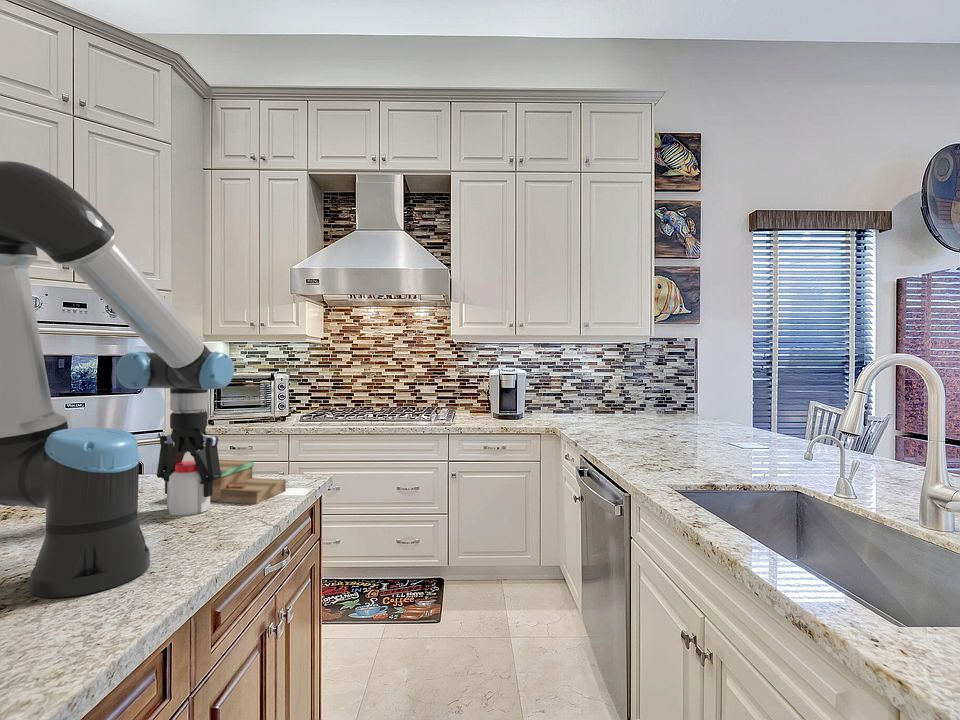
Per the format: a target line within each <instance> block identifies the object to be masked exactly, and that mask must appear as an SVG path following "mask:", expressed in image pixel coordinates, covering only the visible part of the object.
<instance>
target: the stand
mask: <svg viewBox="0 0 960 720" xmlns="http://www.w3.org/2000/svg"><path fill="white" fill-rule="evenodd" d="M219 464H220V472H221V478H219V479H216V480H214V481H213V494H212V496H210V502H223V503H225V502H226V503H239V504H254V505H256V504H257V505H258V504H259V503H262V502H264V501H267V500H269V499H271V498H273V497H275V496H278V495H280V494H282V493H284V492H286V487H287V486H286V483H287V482H286V479H280V478H279V479H275V478H259V477H253V468H254V467H255V466H254V465H255V464H254V461H252V460H251V461H250V460H235V459H234V460H233V459H232V460H231V459H219Z"/></svg>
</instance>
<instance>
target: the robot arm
mask: <svg viewBox="0 0 960 720" xmlns="http://www.w3.org/2000/svg"><path fill="white" fill-rule="evenodd" d="M116 233H117V232H116V230H115V229H114V228H113V226H112V225H111V224H110V223H109V221H107V219H105V218H104V216H103V215H102V214H101V213H100V212H99V210H98V209H96V208H95V207H94V206H93V204H91V203H90V202H89V201H88V200H87V199H86V198H84V196H82V195H81V194H80V193H79V192H78V191H76V190H75V189H74V188H72V187H71V186H70V185H69V184H67V183H66V182H65V181H63V180H61V179H60V178H58V177H56V176H55V175H54V174H52V173H50V172H48V171H46V170H43V169H41V168H39V167H38V166H34V165H30V164H28V163H24V162H19V161H12V160H11V161H9V160H3V161H2V160H0V505H1V506H3V507H4V506H5V507H17V506H19V507H26V508H27V507H29V508H37V509H39V508H40V509H45V536H44V540H43V543H42V545H41V547H40V550H39V552H38V555H37V558H36V562H35V565H34V567H33V568H32V570H31V572H30V575H29V592H30V593H31V594H32V595H34V596H36V597H40V598H57V599H58V598H68V597H69V598H70V597H76V596H81V595H88V594H93V593H97V592H101V591H104V590H108V589H111V588H114V587H118V586H121V585H122V584H126V583H128V582H130V581H132V580H134V579H137V578H138V577H139V576H141V575H143V574H144V573H145V572H146V571H147V570H148V569H149V568H150V566H151V564H150V563H151V552H150V548H149V547H148V546H147V543H146V540H145V537H144V534H143V532H142V530H141V529H142V528H141V526H140V524H139V518H138V514H139V513H138V508H139V505H138V504H139V475H140V474H139V471H140V456H141V455H140V454H139V447H138V440H137V438H136V436H135V435H134V434H133V433H131V432H129V431H126V430H123V429H118V428H110V427H92V426H91V427H90V426H88V427H87V426H86V427H70V428H69V424H68V420H67V417H66V416H64V415H62V414H60V413H59V412H57V411H55V410H54V407H53V401H52V397H51V391H50V390H51V389H50V385H49V380H48V375H47V370H46V369H47V368H46V363H45V357H44V352H43V346H42V341H41V335H40V331H39V330H40V329H39V325H38V318H37V313H36V307H35V303H34V297H33V292H32V287H31V286H32V285H31V280H30V276H29V267H31V266H32V265H33V264H34V262H36V261H37V260H38V259H39V256H38V250H37V248H38V249H39V250H42V251H43V252H44V254H46V255H47V256H48V257H49V258H50V259H52V261H53V262H55V264H58V265H63V266H65V265H66V266H69V268H70V269H71V270H72V271H73V272H75V274H76V275H77V276H78V277H79V278H80V279H81V280H82V281H83V282H85V284H86V285H87V286H88V287H89V288H90V289H91V290H92V291H93V292H94V293H95V294H96V295H97V296H98V297H100V299H101V300H102V301H103V302H105V304H106V305H107V306H109V308H110V309H111V310H112V311H113V312H114V313H115V314H116V315H118V317H119V318H120V319H121V320H123V322H125V324H126V325H127V326H128V327H129V329H131V330H132V331H133V332H135V334H136V335H137V336H138V337H139V338H140V339H141V340H142V341H143V342H144V343H145V344H146V345H147V346H148V347H149V348H150V349H151V350H152V351H153V352H150V351H149V352H148V351H147V352H146V351H145V352H144V351H138V352H127V353H125V354H123V355H122V356H121V357H120V358H119V360H118V362H117V363H116V368H115V369H116V377H117V378H116V379H117V381H118V382H119V383H120V384H121V386H123V387H124V388H127V389H138V390H144V389H169V393H170V394H169V395H170V396H169V397H170V398H169V399H170V400H169V410H170V411H172V412H171V413H170V414H169V429H171V433H170V434H169V433H168V434H165V435H161V436H159V441H160V449H159V450H160V451H159V456H158V463H157V472H156V477H157V478H159V479H163V481H164V489H165V490H164V494H165V495H166V510H167V511H169V476H170V475H171V474H172V473H173V472H174V471H175V464H176V463H180V462H183V460H184V457H185V454H186V453H189V454H190V457H193V461H195V463H196V466H197V469H198V472H199V474H200V477H201V480H202V482H200V483H199V512H200V513H203V512H206V511H209V510H211V501H210V496H212V494H213V481H214V480H216V479H219V478H221V472H220V464H219V460H220V459H219V453H218V444H219V443H218V442H219V437H218V436H216V435H215V436H211V435H208V433H207V431H206V428H207V426H208V424H209V422H208V419H209V418H208V416H209V415H208V412H207V411H205V410H207V409H208V402H209V401H208V396H209V395H208V393H209V392H208V391H209V390H217V389H218V390H219V389H223V388H225V387H227V386H228V385H229V384H230V383H231V382H232V380H233V378H234V375H235V366H234V362H233V360H232V358H231V356H230V355H228V354H226V353H223V352H219V351H211V350H210V349H209V348H208V347H207V346H206V344H205V343H204V342H203V341H202V340H201V339H200V338H199V336H198V335H197V334H196V333H195V332H194V330H193V329H192V328H191V327H190V326H189V325H188V324H187V322H186V321H185V320H184V319H183V318H182V316H180V314H178V312H177V311H176V310H175V308H174V307H173V306H172V305H171V304H170V303H169V302H168V300H167V299H166V298H165V297H164V296H163V295H162V293H161V292H160V291H159V290H158V289H157V288H156V287H155V286H154V284H153V283H152V282H151V280H149V279H148V277H147V276H146V275H145V274H144V273H143V271H142V270H141V269H140V268H139V267H138V266H137V264H136V263H135V262H134V261H133V260H132V259H131V258H130V256H129V255H128V254H127V253H126V251H124V249H122V247H121V246H120V245H119V244H118V243H117V241H116V240H115V239H116V236H117V235H116Z"/></svg>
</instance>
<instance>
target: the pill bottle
mask: <svg viewBox="0 0 960 720" xmlns="http://www.w3.org/2000/svg"><path fill="white" fill-rule="evenodd" d="M200 482H202V480H201V477H200V474H199V472H198V469H197V466H196V463H195V460H188V461H182V462H180V463H176V464H175V471H174V472H173V473H172V474H171V475H170V476H169V510H168V514H169V516H170V515H171V516H174V517H175V516H177V517H178V516H180V517H181V516H190V515H195V514H200V513H201V512H199V483H200Z"/></svg>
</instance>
